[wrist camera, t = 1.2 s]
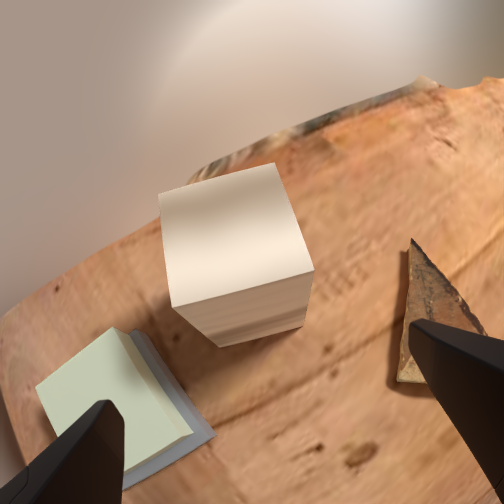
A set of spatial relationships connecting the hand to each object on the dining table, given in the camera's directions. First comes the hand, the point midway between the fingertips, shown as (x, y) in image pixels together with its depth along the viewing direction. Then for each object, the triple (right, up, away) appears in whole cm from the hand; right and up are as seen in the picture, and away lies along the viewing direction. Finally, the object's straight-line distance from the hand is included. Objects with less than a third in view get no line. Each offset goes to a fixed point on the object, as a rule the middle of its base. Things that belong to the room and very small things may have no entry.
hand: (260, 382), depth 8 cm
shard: (+12, -2, +13) cm, 18 cm away
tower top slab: (-9, -7, +10) cm, 16 cm away
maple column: (0, 0, +15) cm, 15 cm away
